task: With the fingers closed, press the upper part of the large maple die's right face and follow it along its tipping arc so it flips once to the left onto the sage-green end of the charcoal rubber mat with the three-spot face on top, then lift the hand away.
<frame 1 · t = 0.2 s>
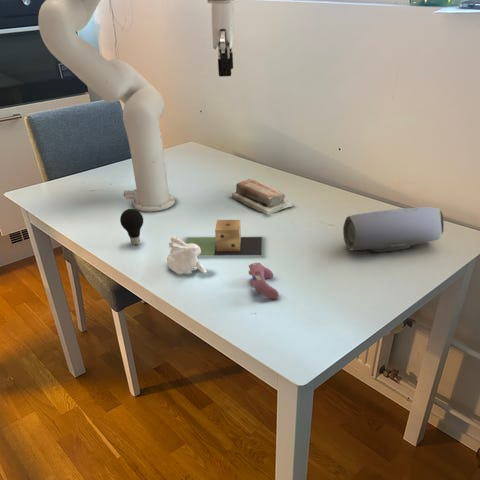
hand: (226, 72, 132), 37 cm above the table, tool pointing down, fingers open, 9 cm apart
video game controller: (263, 289, 114), on the table
rabbit figurine: (183, 273, 121), on the table
light bulb: (136, 245, 133), on the table
packaged product: (261, 203, 153), on the table
die: (228, 245, 130), resting on dice mat
bluetooth speaker: (389, 248, 128), on the table
dice mat: (223, 247, 130), on the table
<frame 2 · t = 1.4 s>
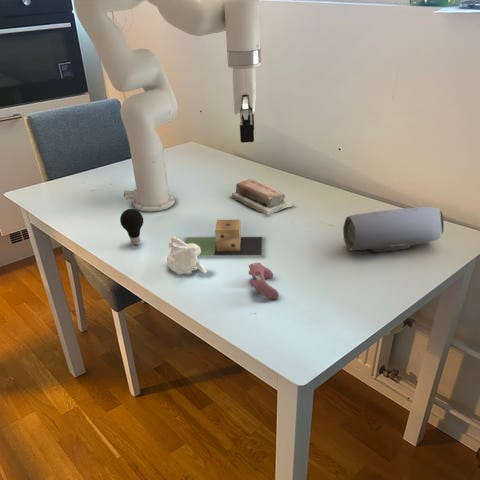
hand: (247, 136, 123), 25 cm above the table, tool pointing down, fingers open, 9 cm apart
nothing on the table moved.
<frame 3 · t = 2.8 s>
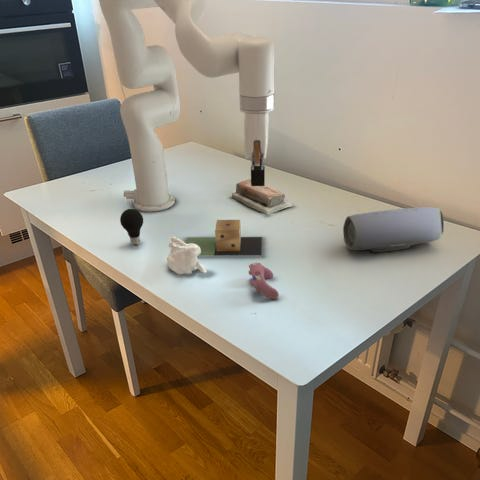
hand: (257, 183, 120), 17 cm above the table, tool pointing down, fingers closed
nothing on the table moved.
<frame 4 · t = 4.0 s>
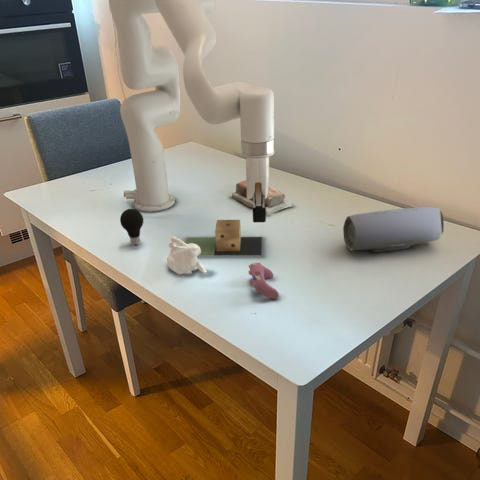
hand: (259, 220, 125), 8 cm above the table, tool pointing down, fingers closed
nothing on the table moved.
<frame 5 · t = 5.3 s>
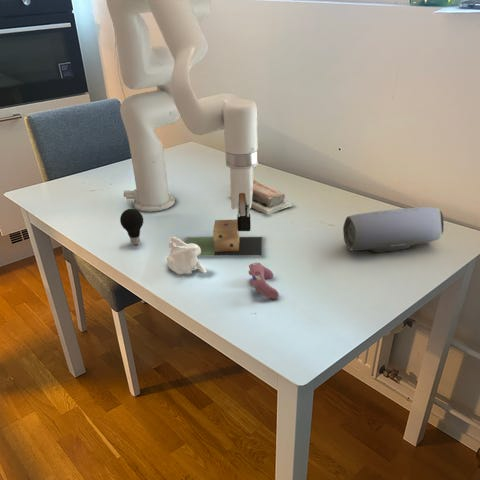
hand: (244, 229, 127), 5 cm above the table, tool pointing down, fingers closed
die: (227, 245, 130), point 1 cm above the table, touching dice mat, gripper
everything else where it was.
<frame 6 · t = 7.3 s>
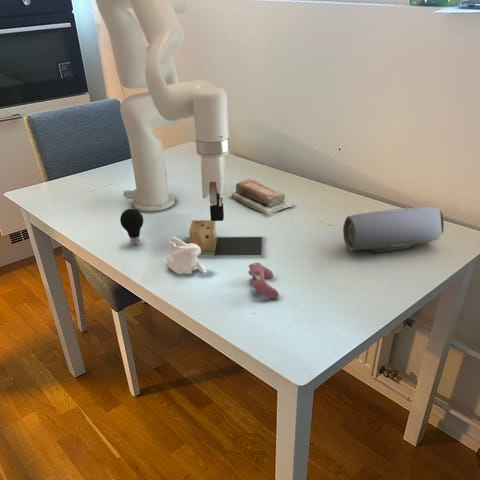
hand: (217, 219, 126), 8 cm above the table, tool pointing down, fingers closed
die: (215, 235, 128), point 3 cm above the table, tilted 90°, touching dice mat
everything else where it was.
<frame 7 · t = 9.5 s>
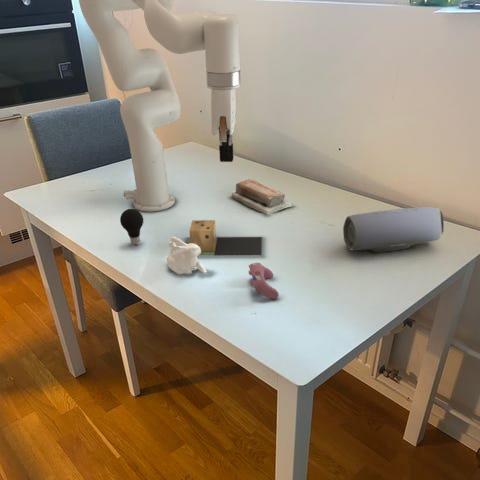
hand: (226, 160, 123), 21 cm above the table, tool pointing down, fingers closed
nothing on the table moved.
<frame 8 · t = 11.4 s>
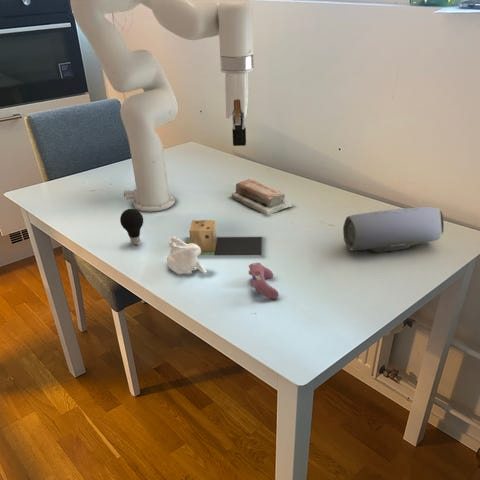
hand: (239, 144, 125), 23 cm above the table, tool pointing down, fingers closed
nothing on the table moved.
at the end: die tilted 90°; die 0.4 cm from the target spot, point 3.5 cm above the table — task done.
